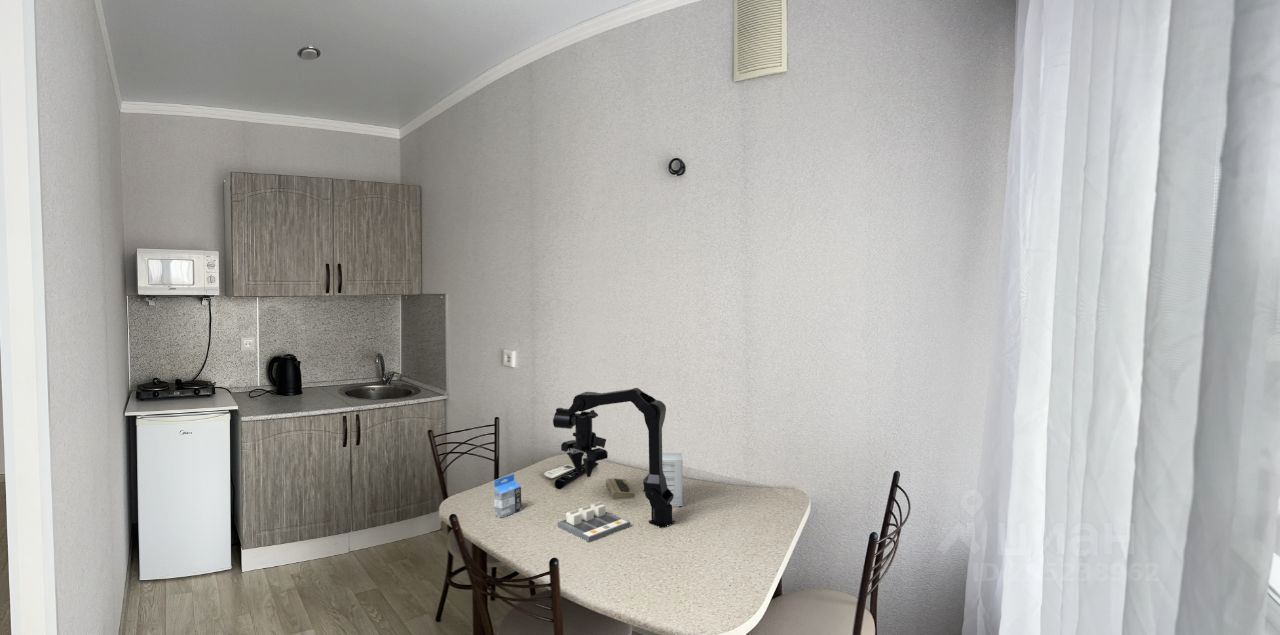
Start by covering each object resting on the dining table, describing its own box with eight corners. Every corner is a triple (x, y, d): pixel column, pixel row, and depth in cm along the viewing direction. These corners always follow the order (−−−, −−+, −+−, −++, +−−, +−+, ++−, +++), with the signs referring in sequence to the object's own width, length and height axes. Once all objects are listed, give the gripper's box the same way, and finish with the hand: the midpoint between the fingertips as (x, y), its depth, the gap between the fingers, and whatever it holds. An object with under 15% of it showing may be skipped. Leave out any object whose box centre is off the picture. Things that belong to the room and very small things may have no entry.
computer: (634, 498, 215) (634, 489, 215) (612, 500, 214) (612, 491, 213) (626, 484, 231) (626, 476, 231) (605, 486, 229) (605, 477, 229)
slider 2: (605, 514, 195) (605, 503, 195) (598, 516, 193) (598, 505, 193) (597, 511, 198) (597, 500, 198) (590, 513, 196) (590, 502, 196)
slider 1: (581, 522, 188) (581, 511, 188) (574, 525, 186) (573, 513, 186) (573, 519, 191) (573, 507, 191) (566, 521, 189) (566, 510, 189)
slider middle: (593, 518, 192) (593, 507, 191) (586, 521, 189) (586, 509, 189) (586, 515, 194) (585, 503, 194) (578, 517, 192) (578, 506, 192)
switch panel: (630, 526, 189) (630, 521, 189) (588, 542, 177) (588, 536, 177) (598, 512, 201) (598, 507, 201) (557, 526, 189) (557, 521, 189)
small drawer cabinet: (682, 507, 206) (683, 460, 205) (656, 507, 206) (656, 460, 205) (681, 497, 215) (681, 452, 214) (656, 497, 215) (656, 452, 214)
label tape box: (501, 518, 196) (501, 482, 195) (493, 515, 198) (493, 479, 197) (522, 510, 203) (521, 475, 202) (514, 507, 205) (513, 473, 204)
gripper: (619, 430, 198) (619, 476, 199) (585, 421, 212) (585, 464, 213) (594, 436, 191) (594, 483, 191) (560, 426, 204) (560, 470, 205)
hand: (584, 475), depth 200 cm, fingers open, 5 cm apart
